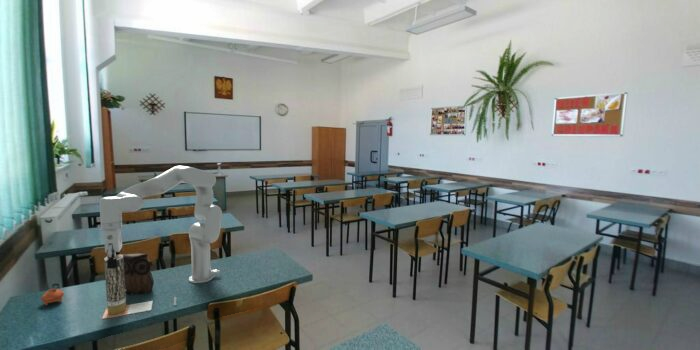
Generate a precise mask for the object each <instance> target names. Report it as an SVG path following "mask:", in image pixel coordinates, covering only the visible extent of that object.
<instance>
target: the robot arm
mask: <svg viewBox="0 0 700 350" xmlns="http://www.w3.org/2000/svg"><path fill="white" fill-rule="evenodd" d="M216 182H217V178H216V175H215V174H214V173H213V172H211V171H207V170H203V169H199V168H196V167H192V166H187V165H175V166H173V167H171V168H170V169H167V170H165V171H164V172H162V173H161V174H159V175H156V176H155V177H153V178H150V179H148V180H144V181H142V182H139V183H136V184H134V185H131V186H130V187H128V188H125V189H124V190H122V191H119V193H117V194H116V195H113V196H103V197H102V198H100V199H99V217H100V230H101V231H103V234H104V236H103V237H104V238H103V239H104V241H103V242H104V253H106V254H107V256H106V257H107V266H108V269H110V268H116V267H117V258H116V254H121V253H120V251H121V249H122V248H123V239H122V238H123V237H122V230H121V229H122V228H123V216H122V215H123V213H130V212H131V213H132V212H136V211H139V210H141V209H142V207H144V200H143V199H144V198H147V197H152V196H157V195H162V194H165V193H166V192H169V191H170V190H171V189H173V188H174V187H177V186H178V185H180V184H181V183H182V184H187V185H188V184H189V185H192V187H193V188H194V190H195V193H196V198H195V204H194V217H195V218H196V219H197V220H200V222H198V221H197V222H194V223H192V224H191V225H190V227H189V229H188V237H189V242H190V251H191V252H190V254H191V255H190V256H191V257H190V259H191V260H190V261H191V262H190V263H191V275H190V276H189V277H188V281H189V283H192V284H204V283H207V282H210V281H212V280H213V279H214V278H215V275H218V274H220V273H221V270H219V269H216V268H215V269H212V267H211V245H210V244H214V243H215V242H217V241H218V239H219V236H220V235H221V234H220V233H221V228H222V227H221V226H222V221H223V211H222V208H221V207H220V206H218V205H216V204H214V190H213V187H214V186H215V185H216ZM201 221H203V222H201Z"/></svg>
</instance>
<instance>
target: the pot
mask: <svg viewBox="0 0 700 350" xmlns="http://www.w3.org/2000/svg"><path fill="white" fill-rule="evenodd" d="M64 296H65V292H64V291H63V290H60V289H58V288H52V289H49V290H46V292H45V293H44V294H43V295H41V297H40V300H41V301H42V302H43V303H44V305H45V306H48V304H49V303H51V304H52V303H55V302H59V303H61V302H62V299H63V297H64Z"/></svg>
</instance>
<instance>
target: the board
mask: <svg viewBox="0 0 700 350" xmlns="http://www.w3.org/2000/svg"><path fill="white" fill-rule="evenodd" d="M153 302H154V301H153V300H148V301H143V302H138V303H131V304H126V309H125V311H123V312H121V313H119V314H109V313H108V309H107V308H106V309H105V310H104V313H103V316H102V318H101V320H106V319H111V318H116V317H122V316H127V315H133V314H138V313H143V312H149V311H152V307H153ZM176 306H177V296H174V297H173V307H176Z"/></svg>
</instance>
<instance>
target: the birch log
mask: <svg viewBox="0 0 700 350" xmlns="http://www.w3.org/2000/svg"><path fill="white" fill-rule="evenodd" d="M121 254H122V253H120V254H116V258H117V267H116V268H110V269H108V266H107V256H106V257H104V258H103V260H104V277H105V290H106V309H108V313H109V314H119V313H121V312H123V311H125V309H126V305H127V297H126V295H127V294H126V293H125V292H126V289H125V276H124V259H123V255H121Z"/></svg>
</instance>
